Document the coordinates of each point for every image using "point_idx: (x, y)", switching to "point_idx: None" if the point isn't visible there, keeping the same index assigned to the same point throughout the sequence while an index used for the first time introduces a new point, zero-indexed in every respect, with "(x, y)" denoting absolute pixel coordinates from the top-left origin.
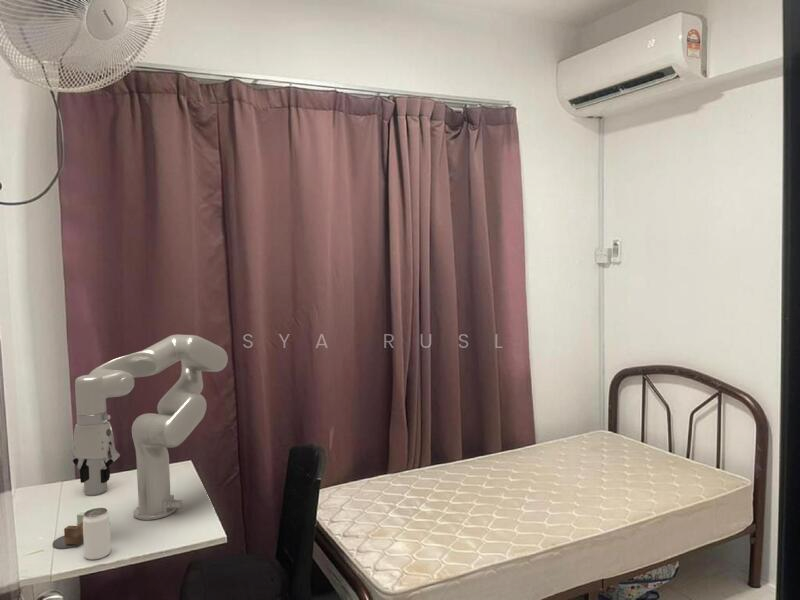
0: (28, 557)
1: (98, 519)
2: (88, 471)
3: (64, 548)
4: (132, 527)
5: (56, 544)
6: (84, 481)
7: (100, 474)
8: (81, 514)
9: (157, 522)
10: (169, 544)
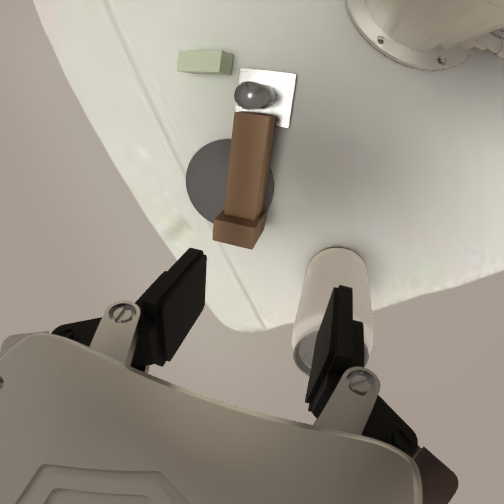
0: (176, 252)
1: None
2: (181, 287)
3: None
4: (383, 110)
5: (204, 208)
6: (204, 299)
7: (309, 379)
8: (189, 66)
9: (450, 92)
10: (493, 253)
